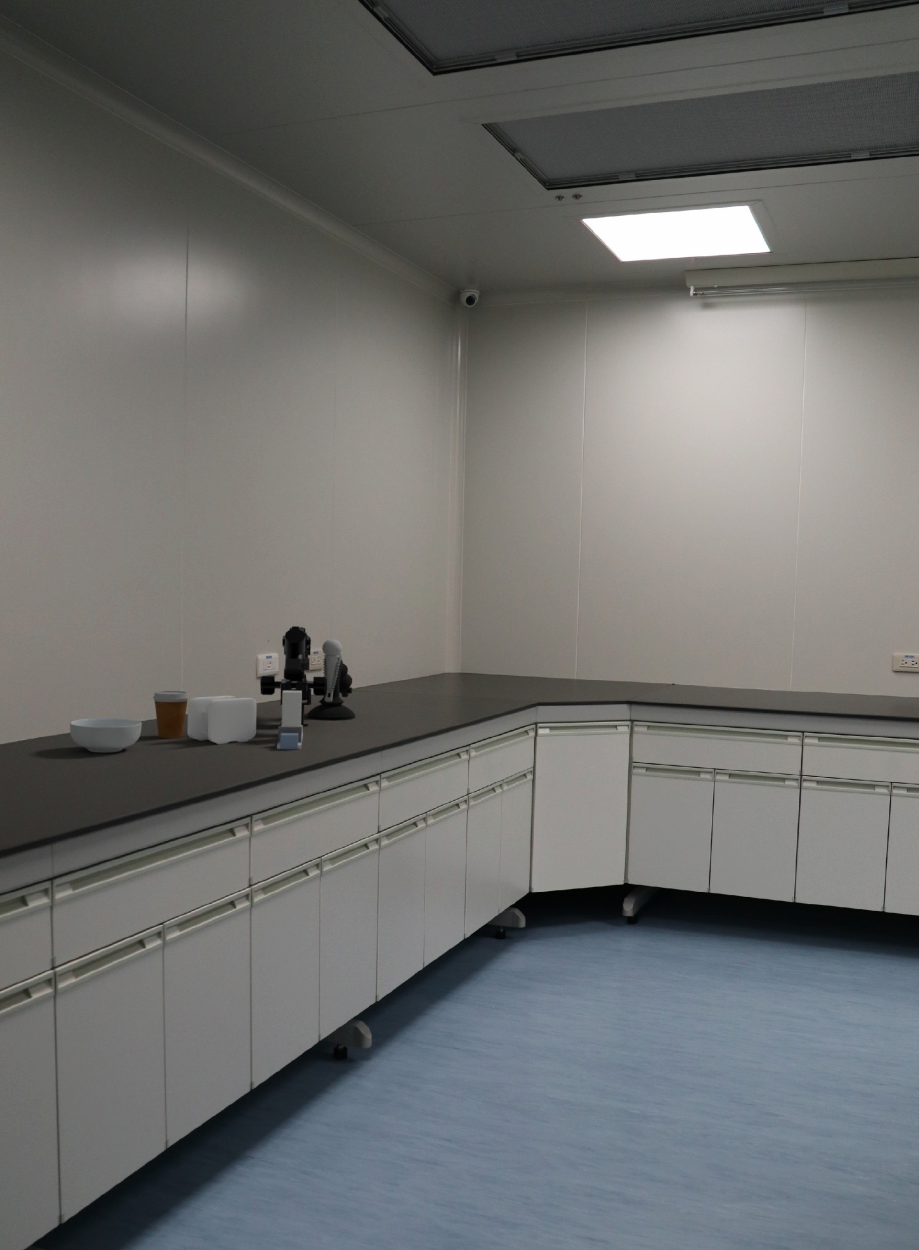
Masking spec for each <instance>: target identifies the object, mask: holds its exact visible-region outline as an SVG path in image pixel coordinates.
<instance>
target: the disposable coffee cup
mask: <svg viewBox="0 0 919 1250" xmlns="http://www.w3.org/2000/svg"><path fill="white" fill-rule="evenodd" d="M152 699H153V702H154V706H155V716H156V724H157V725H156V726H157V733H158V738H160V739H161V738H162V739H178V738H182V737H183V735H184V729H185V728H184V727H185V722H186V721H185V720H186V714H187V709H188V702H189V699H190V696H189V693H188V692H187V691H183V690H182V691H181V690H162V691H160V690H159V691H155V692H154V696H152Z"/></svg>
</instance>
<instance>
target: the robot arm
mask: <svg viewBox="0 0 919 1250" xmlns="http://www.w3.org/2000/svg"><path fill="white" fill-rule="evenodd" d="M281 641H282V645H281V646H282V648H283V655H284V658H285V659H284V661H285V662H284V668H283V678H281V679H280V681H278V680H277V681H276V676H275V675H262V676H260V681H259V683H260V684H259V685H260V694H261V695H262V696H274V694H275V693H276V690H280V706H282V695H283V691H302V701H301V725H303V727H304V726H309V723H308V722H305V706H311V705H312V693H313V695H314V696H316V697H317V696H319V697H324V696H325V695H327V678H326V677H324V676H313V677H312V679H313V680H308V679H307V674H306V672H305V671H310V666H311V665H310V659H311V658H310V657H309V656H311V650H312V649H311V644H312V639H311V637H310V636H309V635H308V633H307V632H306V628H305V627H303V626H300V627H299V626H297V625H294V626H293V625H292V626H291V627H289V630H287V631H286V632H285V634H284V635H282V640H281ZM312 689H313V691H312ZM279 723H280V724H281V725H282V721H280V722H279Z"/></svg>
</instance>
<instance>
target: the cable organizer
mask: <svg viewBox="0 0 919 1250" xmlns="http://www.w3.org/2000/svg"><path fill="white" fill-rule="evenodd" d="M186 733H187V736H188V737H189V738H191V739H194V740H197V741H208V740H209V741H210V742H212V743H216V745H224V744H229V742H230V743H231V742H236V743H242V742H243V743H244V742H249V740H251V739H253V738H254V737H255V736H256V733H257V701H256V700H255V699H254V698H251V697H239V698H237V697H236V696H235V695H219V696H218V695H217V696H203V697H201V696H200V697H193V698H192V699H190V700H188V702H187V732H186Z"/></svg>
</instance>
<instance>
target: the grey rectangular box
mask: <svg viewBox="0 0 919 1250" xmlns="http://www.w3.org/2000/svg"><path fill="white" fill-rule="evenodd" d="M301 701H303V700H302V691H283V695H282V705H281V722H282V724H281V725H282V726H301Z"/></svg>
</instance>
